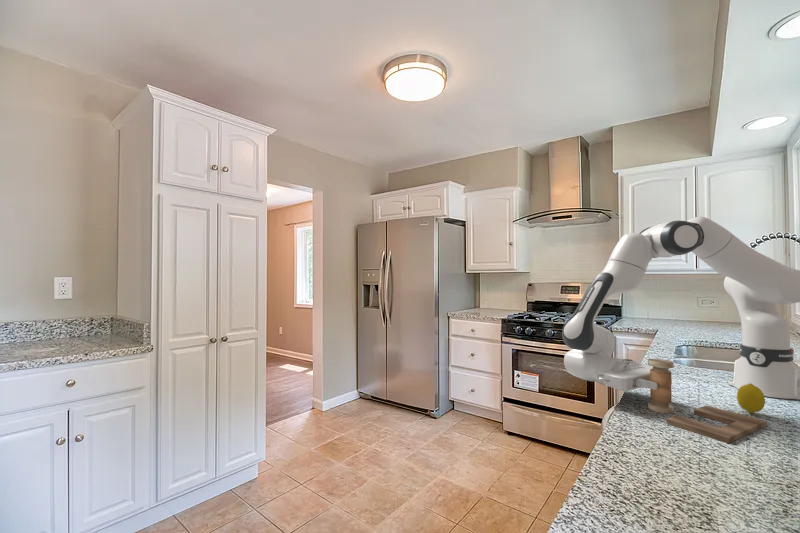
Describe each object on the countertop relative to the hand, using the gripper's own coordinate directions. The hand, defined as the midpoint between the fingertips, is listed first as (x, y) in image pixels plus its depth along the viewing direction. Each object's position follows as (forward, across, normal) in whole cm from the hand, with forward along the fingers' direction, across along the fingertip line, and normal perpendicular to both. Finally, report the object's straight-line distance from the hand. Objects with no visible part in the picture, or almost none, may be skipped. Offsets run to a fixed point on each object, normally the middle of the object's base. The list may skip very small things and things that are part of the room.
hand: (664, 384), depth 104 cm
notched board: (+11, +1, +7) cm, 13 cm away
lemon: (+12, +18, +7) cm, 23 cm away
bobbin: (-1, 0, +7) cm, 7 cm away
